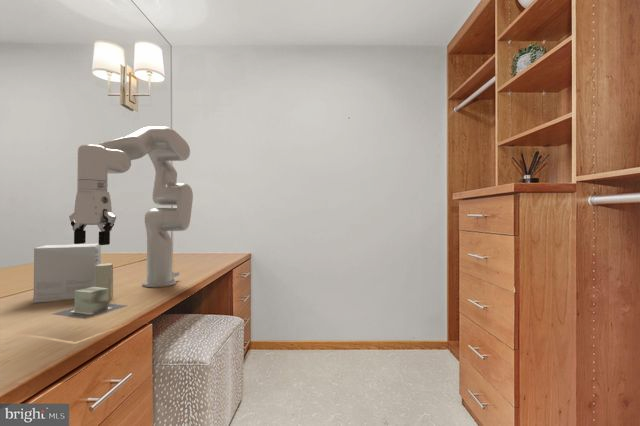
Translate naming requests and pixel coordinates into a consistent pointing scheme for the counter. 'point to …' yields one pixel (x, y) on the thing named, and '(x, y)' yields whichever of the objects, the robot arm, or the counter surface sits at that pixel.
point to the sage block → (91, 299)
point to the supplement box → (64, 270)
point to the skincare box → (105, 278)
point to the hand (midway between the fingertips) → (91, 244)
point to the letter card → (87, 315)
